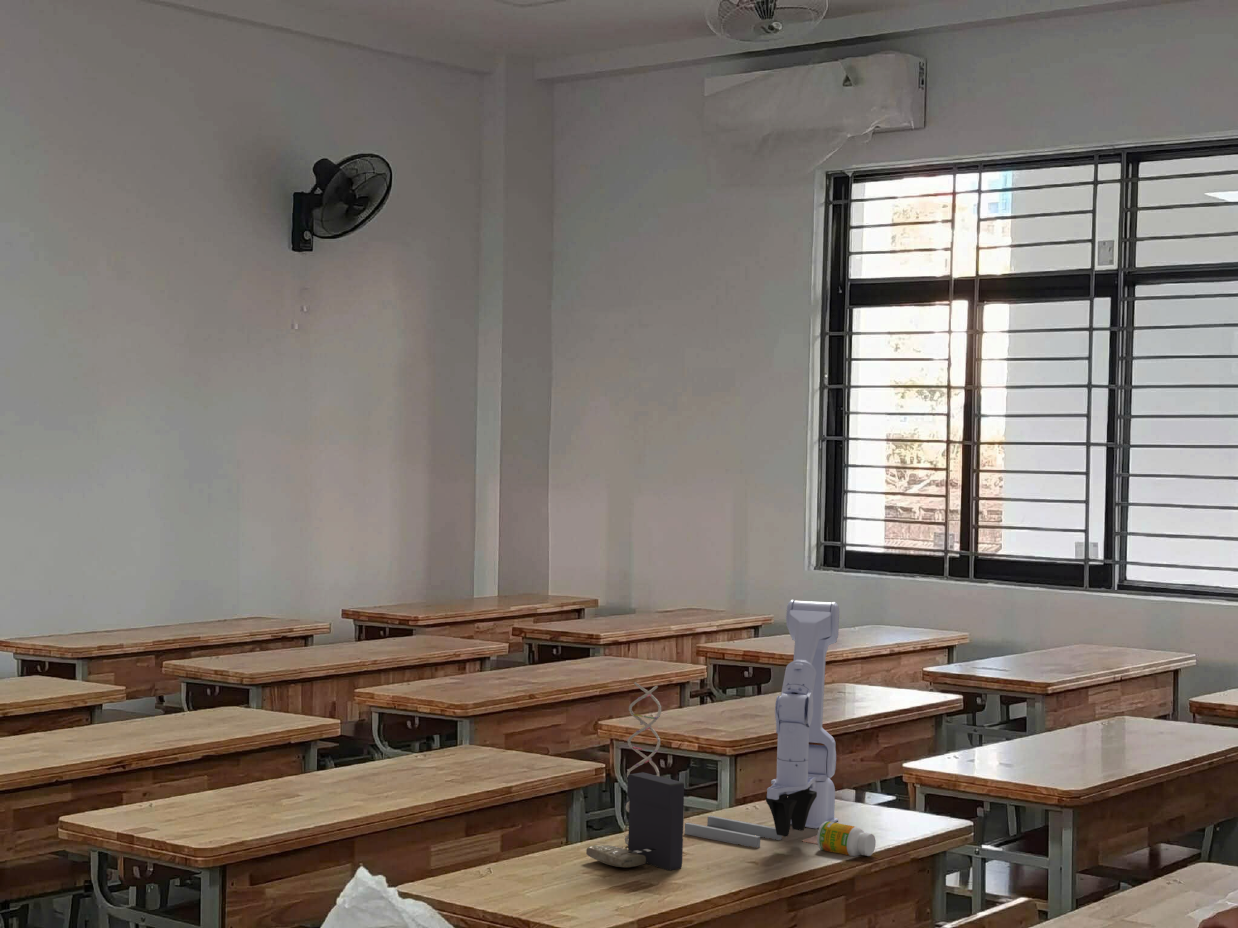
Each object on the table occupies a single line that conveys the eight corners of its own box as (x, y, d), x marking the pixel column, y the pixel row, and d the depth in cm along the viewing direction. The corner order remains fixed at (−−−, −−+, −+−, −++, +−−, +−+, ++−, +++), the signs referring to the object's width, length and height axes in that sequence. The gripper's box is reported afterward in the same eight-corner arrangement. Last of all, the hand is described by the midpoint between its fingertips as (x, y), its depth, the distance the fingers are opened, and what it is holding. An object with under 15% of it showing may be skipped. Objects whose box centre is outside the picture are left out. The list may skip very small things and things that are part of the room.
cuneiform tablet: (631, 852, 264) (586, 838, 273) (630, 875, 264) (584, 859, 273) (656, 849, 268) (610, 834, 277) (655, 871, 268) (609, 856, 277)
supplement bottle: (815, 824, 283) (862, 833, 277) (831, 817, 287) (877, 826, 281) (816, 853, 284) (863, 863, 278) (831, 845, 288) (878, 855, 282)
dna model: (665, 848, 283) (670, 683, 283) (642, 854, 279) (647, 687, 279) (638, 841, 288) (643, 679, 288) (615, 847, 283) (620, 682, 283)
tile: (827, 832, 299) (827, 830, 299) (874, 841, 293) (874, 839, 293) (801, 842, 291) (801, 840, 291) (849, 851, 285) (849, 849, 285)
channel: (710, 825, 302) (710, 815, 302) (781, 839, 293) (782, 828, 293) (684, 833, 295) (684, 823, 295) (757, 848, 286) (757, 837, 286)
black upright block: (685, 867, 270) (687, 781, 270) (667, 871, 267) (669, 784, 267) (642, 854, 278) (645, 771, 278) (624, 858, 276) (627, 773, 275)
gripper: (793, 750, 294) (791, 822, 295) (753, 761, 283) (751, 835, 283) (826, 755, 290) (824, 828, 290) (787, 766, 279) (785, 842, 279)
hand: (790, 832), depth 286 cm, fingers open, 5 cm apart
